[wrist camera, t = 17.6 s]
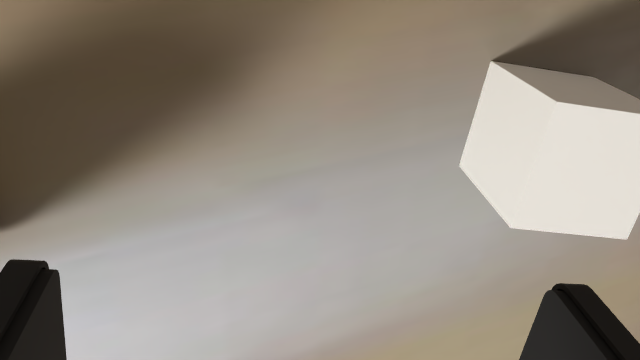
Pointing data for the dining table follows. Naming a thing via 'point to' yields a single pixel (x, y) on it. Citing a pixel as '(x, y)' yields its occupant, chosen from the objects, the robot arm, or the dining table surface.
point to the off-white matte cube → (556, 151)
